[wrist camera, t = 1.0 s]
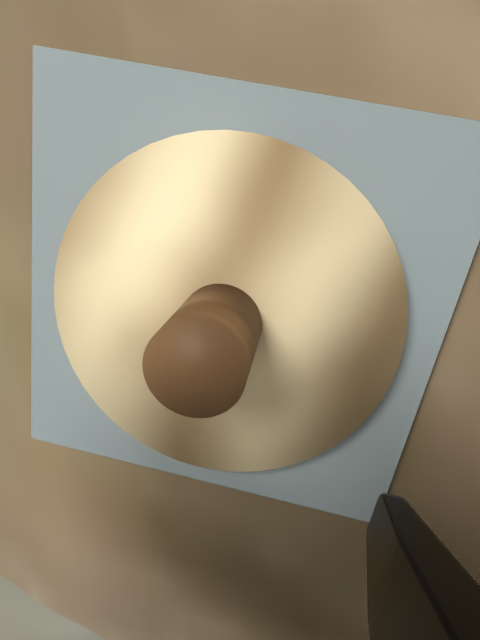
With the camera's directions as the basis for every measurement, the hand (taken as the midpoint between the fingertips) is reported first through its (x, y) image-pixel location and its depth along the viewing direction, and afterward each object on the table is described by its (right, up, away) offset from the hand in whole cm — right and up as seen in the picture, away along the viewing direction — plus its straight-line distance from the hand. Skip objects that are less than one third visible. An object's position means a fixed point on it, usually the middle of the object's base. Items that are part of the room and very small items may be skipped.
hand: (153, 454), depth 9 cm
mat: (+1, +3, +9) cm, 9 cm away
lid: (+1, +3, +8) cm, 9 cm away
